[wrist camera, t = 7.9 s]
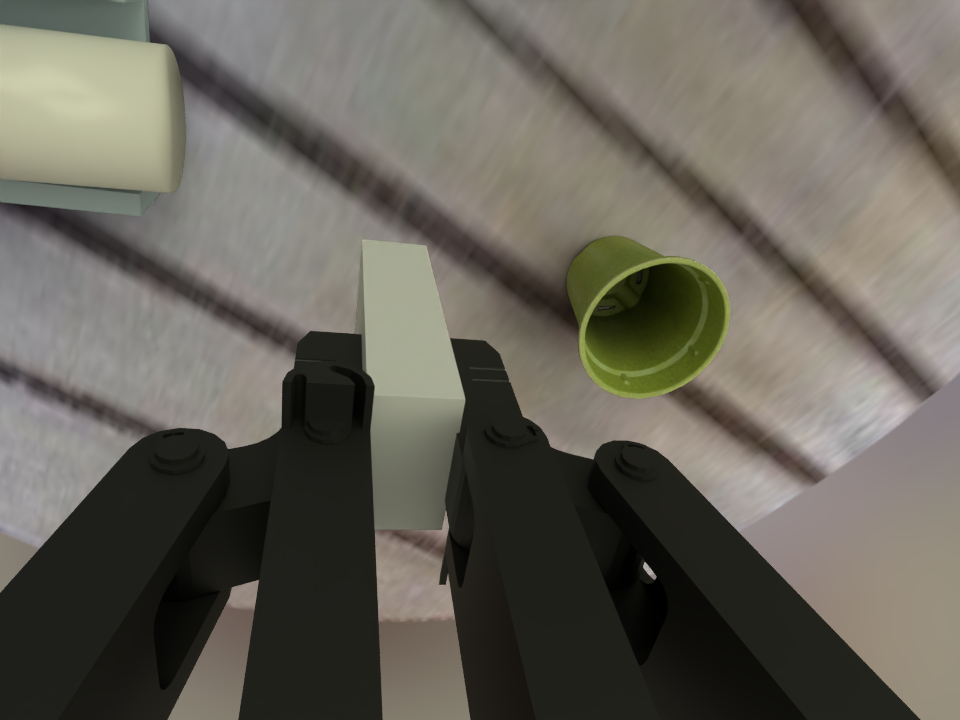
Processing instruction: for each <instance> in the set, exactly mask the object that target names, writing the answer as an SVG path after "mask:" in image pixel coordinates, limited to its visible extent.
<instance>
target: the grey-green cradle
mask: <svg viewBox="0 0 960 720" xmlns="http://www.w3.org/2000/svg"><path fill="white" fill-rule="evenodd" d="M0 24H5V25H13V26H21V27H29V28H37V29H45V30H53V31H61V32H69V33H77V34H85V35H93V36H101V37H109V38H117V39H125V40H133V41H140V42H148V43H150V34H149V18H148V2H147V0H0ZM158 195H159V192H151V191H139V190H126V189H114V188H102V187H90V186H77V185H65V184H53V183H40V182H28V181H16V180H4V179H0V202H5V203H15V204H24V205H34V206H44V207H54V208H63V209H73V210H83V211H92V212H102V213H112V214H122V215H131V216H142V215H143V214H144V212H145V211H146V210H147V209H148V208H149V206H150V205H151V204H152V203H153V201H154V200H155V199H156V198H157V197H158Z"/></svg>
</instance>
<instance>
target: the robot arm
mask: <svg viewBox="0 0 960 720" xmlns="http://www.w3.org/2000/svg"><path fill="white" fill-rule="evenodd" d="M445 510H446V511H447V517H448V523H449V531H448V536H447V541H446V547H445V552H444V557H443V562H442V568H441V573H440V581H439V585H446V580H447V575H448V574H449V581H450V587H451V594H452V601H453V607H454V614H455V620H456V627H457V633H458V639H459V646H460V653H461V660H462V666H463V673H464V679H465V686H466V692H467V699H468V706H469V712H470V718H471V720H920V719H919V718H918V717H917V716H916V715H915V714H914V713H913V712H912V711H911V709H910V708H909V707H908V706H907V705H906V704H905V703H904V702H903V701H902V700H901V699H900V698H899V697H898V696H897V695H896V694H895V693H894V692H893V691H892V690H891V689H890V688H889V687H888V686H887V685H886V684H885V683H884V682H883V681H882V680H881V679H880V678H879V676H877V675H876V674H875V672H874V671H873V670H872V669H871V668H870V667H869V666H868V665H867V664H866V663H865V662H864V661H863V660H862V659H861V658H860V657H859V656H858V655H857V654H856V653H855V652H854V651H853V650H852V649H851V648H850V647H849V646H848V645H847V644H846V642H845V641H844V640H843V639H842V638H840V636H839V635H838V634H837V633H836V632H835V631H834V630H833V629H832V628H831V627H830V626H829V625H828V624H827V623H826V622H825V621H824V620H823V619H822V618H821V617H820V616H819V615H818V614H817V613H816V612H815V610H814V609H813V608H812V607H811V606H810V605H809V604H808V603H807V602H806V601H805V600H804V599H803V598H802V597H801V596H800V595H799V594H798V593H797V592H796V591H795V590H794V589H793V588H792V587H791V586H790V585H789V584H788V583H787V582H786V581H785V580H784V579H783V578H782V577H781V575H780V574H779V573H777V571H776V570H775V569H774V568H773V567H772V566H771V565H770V564H769V563H768V562H767V561H766V560H765V559H764V558H763V557H762V556H761V555H760V554H759V553H758V552H757V551H756V550H755V549H754V548H753V547H752V546H751V544H749V542H748V541H747V540H746V539H745V538H744V537H743V536H742V535H741V534H740V533H739V532H738V531H737V530H736V529H735V528H734V527H733V526H732V525H731V524H730V523H729V522H728V521H727V520H726V519H725V518H724V517H723V516H722V515H721V514H720V513H719V512H718V510H717V509H716V508H715V507H714V506H713V505H712V504H711V503H710V502H709V501H708V500H707V499H706V498H705V497H704V496H703V495H702V494H701V493H700V492H699V491H698V490H697V489H696V488H695V487H694V486H693V485H692V484H691V483H690V482H689V481H688V480H687V479H686V477H685V476H684V475H683V474H682V473H681V472H680V471H679V470H678V469H677V468H676V467H675V466H674V465H673V464H672V463H671V462H670V461H669V460H668V459H667V458H665V457H664V456H663V455H661V454H660V453H659V452H658V451H656V450H654V449H652V448H649V447H647V446H645V445H643V444H640V443H635V442H631V441H611V442H608V443H605V444H602V445H601V446H600V448H599V449H598V450H597V451H596V453H595V457H594V460H593V459H589V458H585V457H581V456H576V455H572V454H568V453H565V452H562V451H559V450H556V449H554V448H552V447H550V444H549V442H548V439H547V437H546V435H545V434H544V432H543V431H542V429H541V428H540V427H539V426H537V425H536V424H535V423H533V422H532V421H530V420H529V419H527V418H524V417H523V416H522V413H521V410H520V408H519V405H518V402H517V400H516V397H515V394H514V392H513V389H512V386H511V383H510V382H509V378H508V375H507V373H506V371H505V367H504V365H503V362H502V359H501V357H500V354H499V353H498V352H497V351H496V350H495V349H494V348H493V347H491V346H490V345H489V344H488V343H487V342H486V341H482V340H467V339H452V338H450V337H449V333H448V330H447V326H446V322H445V318H444V314H443V310H442V306H441V302H440V298H439V294H438V291H437V287H436V283H435V279H434V275H433V271H432V267H431V263H430V259H429V255H428V252H427V248H426V245H416V244H406V243H396V242H385V241H375V240H365V239H362V247H361V260H360V273H359V285H358V298H357V310H356V323H355V334H349V333H333V332H318V331H310V332H309V333H308V334H307V335H306V336H305V337H304V338H302V339H301V340H300V341H299V342H298V344H297V351H296V358H295V364H294V369H293V370H291V371H289V372H288V373H287V375H286V376H285V378H284V380H283V383H282V428H281V429H280V430H279V431H278V432H277V433H275V434H274V435H273V436H271V437H270V438H268V439H266V440H263V441H261V442H259V443H256V444H252V445H248V446H244V447H238V448H233V449H227V447H226V444H225V442H224V441H222V440H221V439H220V438H219V437H217V436H216V435H215V434H212V433H209V432H206V431H203V430H200V429H188V428H177V429H171V430H164V431H159V432H157V433H154V434H152V435H149V436H147V437H144V438H142V439H141V440H140V441H138V442H137V443H136V444H134V445H133V446H132V447H130V448H129V449H128V450H127V452H126V453H125V454H124V455H123V456H122V457H121V458H120V459H119V461H118V462H117V463H116V464H115V465H114V466H113V467H112V468H111V469H110V471H109V472H108V473H107V474H106V475H105V476H104V477H103V478H102V480H101V481H100V482H99V483H98V484H97V485H96V486H95V487H94V489H93V490H92V491H91V492H90V493H89V494H88V495H87V496H86V497H85V499H84V500H83V501H82V502H81V503H80V504H79V505H78V506H77V508H76V509H75V510H74V511H73V512H72V513H71V514H70V515H69V517H68V518H67V519H66V520H65V521H64V522H63V523H62V524H61V525H60V527H59V528H58V529H57V530H56V531H55V532H54V533H53V534H52V536H51V537H50V538H49V539H48V540H47V541H46V542H45V543H44V544H43V546H42V547H41V548H40V549H39V550H38V551H37V552H36V554H35V555H34V556H33V557H32V558H31V559H30V560H29V561H28V563H27V564H26V565H25V566H24V567H23V568H22V569H21V570H20V571H19V572H18V574H17V575H16V576H15V577H14V578H13V579H12V580H11V581H10V583H9V584H8V585H7V586H6V587H5V588H4V590H3V591H2V592H1V593H0V720H167V719H168V717H169V715H170V713H171V711H172V709H173V708H174V706H175V704H176V701H177V699H178V698H179V696H180V694H181V692H182V690H183V688H184V686H185V684H186V682H187V680H188V678H189V676H190V674H191V672H192V670H193V668H194V666H195V664H196V662H197V660H198V658H199V656H200V654H201V652H202V650H203V648H204V646H205V644H206V642H207V640H208V638H209V636H210V634H211V632H212V631H213V629H214V627H215V625H216V623H217V620H218V619H219V617H220V615H221V613H222V611H223V609H224V607H225V605H226V603H227V601H228V599H229V597H230V592H231V588H232V587H234V586H238V585H241V584H245V583H249V582H252V581H256V580H259V584H258V591H257V598H256V605H255V611H254V619H253V625H252V632H251V638H250V645H249V652H248V659H247V665H246V673H245V679H244V686H243V693H242V699H241V706H240V713H239V720H382V699H381V698H382V697H381V672H380V648H379V628H378V627H379V624H378V600H377V576H376V553H375V530H442V526H443V521H444V515H445ZM644 562H646V563H647V564H648V566H649V567H650V568H651V569H652V571H653V572H654V573H655V575H656V576H657V578H656V579H655V580H653V579H652V578H651V577H650V576H649V575H648V574H647V572H646V571H645V570H644V568H643V565H644Z"/></svg>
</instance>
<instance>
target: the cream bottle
mask: <svg viewBox="0 0 960 720" xmlns="http://www.w3.org/2000/svg"><path fill="white" fill-rule="evenodd" d="M185 140H186V125H185V106H184V96H183V89H182V82H181V77H180V72H179V68H178V65H177V61H176V58H175V56H174V53H173V51H172V50H171V48H170V47H169V46H168V45H164V44H156V43H148V42H140V41H133V40H125V39H117V38H109V37H101V36H93V35H85V34H77V33H69V32H61V31H53V30H45V29H37V28H29V27H21V26H13V25H5V24H0V179H4V180H16V181H28V182H40V183H53V184H65V185H77V186H90V187H102V188H114V189H126V190H139V191H151V192H163V193H174V192H175V191H176V190H177V188H178V186H179V184H180V181H181V177H182V172H183V166H184V158H185Z"/></svg>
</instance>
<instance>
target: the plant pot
mask: <svg viewBox="0 0 960 720" xmlns="http://www.w3.org/2000/svg"><path fill="white" fill-rule="evenodd" d="M639 270H642V280H641V282H640V283H639V284H637V283H636V282H637V277H638V271H639ZM566 286H567V292H568V296H569V298H570V302H571V305H572V307H573V310H574V313H575V316H576V319H577V322H578V325H579V332H578V351H579V356H580V359H581V362H582V364H583V367H584V369H585V371H586V372H587V374H588V375H589V377H590V378H591V379H592V380H593V381H594V382H595V383H596V384H597V385H598V386H599V387H601V388H602V389H604V390H605V391H607V392H609V393H611V394H613V395H616V396H620V397H625V398H635V399H642V398H649V397H655V396H659V395H663V394H666V393H668V392H671V391H672V390H675V389H677V388H679V387H681V386H683V385H685V384H686V383H688V382H689V381H691V380H692V379H694V378H695V377H696V376H697V375H699V374H700V373H701V372H702V371H703V370H704V369H705V368H706V367H707V366H708V365H709V363H710V362H711V361H712V360H713V358H714V356H715V355H716V354H717V352H718V351H719V349H720V347H721V346H722V344H723V342H724V339H725V337H726V334H727V330H728V325H729V321H730V302H729V297H728V294H727V291H726V289H725V287H724V285H723V283H722V282H721V280H720V279H719V277H718V276H717V275H716V274H715V273H714V272H713V271H712V270H711V269H709V268H708V267H706V266H705V265H703V264H701V263H699V262H697V261H694V260H692V259H688V258H683V257H676V256H663V255H661V254H659V253H657V252H655V251H653V250H651V249H649V248H647V247H645V246H643V245H641V244H639V243H637V242H635V241H633V240H631V239H629V238H625V237H620V236H610V237H604V238H601V239H598V240H596V241H594V242H592V243H590V244H589V245H588V246H587V247H586V248H585V249H584V250H583V251H582V252H581V253H580V254H579V255H578V256H577V257H576V258H575V259H574V260H573V262H572V264H571V266H570V268H569V271H568V274H567V281H566ZM613 305H615V307H613V308H611V309H609V310H604V311H601V310H598V309H597V307H598V306H613Z"/></svg>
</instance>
